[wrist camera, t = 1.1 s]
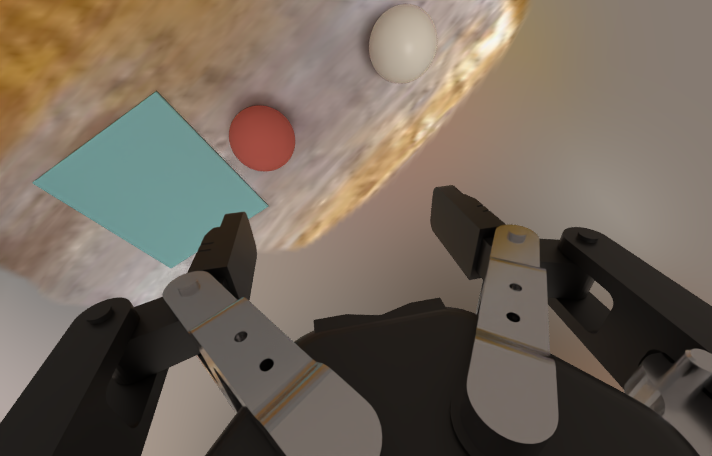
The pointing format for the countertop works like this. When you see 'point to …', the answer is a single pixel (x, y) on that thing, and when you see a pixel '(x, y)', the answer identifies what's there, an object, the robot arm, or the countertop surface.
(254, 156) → the ball
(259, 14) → the countertop surface
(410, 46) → the ball
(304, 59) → the countertop surface
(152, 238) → the mark
